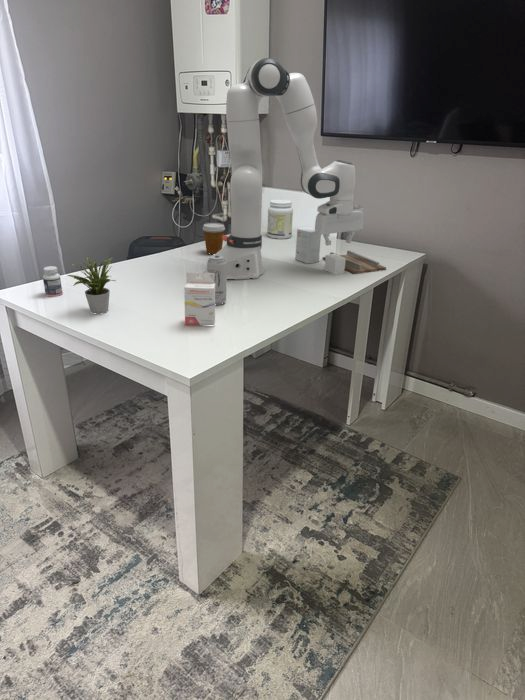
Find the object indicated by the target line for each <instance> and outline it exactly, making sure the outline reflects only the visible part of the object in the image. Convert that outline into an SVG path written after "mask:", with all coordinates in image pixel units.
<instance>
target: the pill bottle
mask: <svg viewBox="0 0 525 700" xmlns="http://www.w3.org/2000/svg"><path fill="white" fill-rule="evenodd" d="M43 273H44V274H43V275H42V281H43V287H44V293H45V296H47V297H49V298H50V297H51V298H53V297H59V296H61V295H63V293H64V291H63V287H62V281H61V275H60V274H59V273H58V267H57V266H53V265H51V266H50V265H49V266H44V267H43Z"/></svg>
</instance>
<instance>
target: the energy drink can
mask: <svg viewBox="0 0 525 700" xmlns="http://www.w3.org/2000/svg"><path fill="white" fill-rule="evenodd" d="M224 258H225V257H224V256H222V255H209V257H208V260H206V268H207V273H214V274H215V277H214V279H215V281H214V282H215V304H222V303H224V302H226V301H227V280H226V260H225V259H224ZM224 304H225V303H224ZM222 305H223V304H222Z"/></svg>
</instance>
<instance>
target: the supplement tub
mask: <svg viewBox="0 0 525 700" xmlns="http://www.w3.org/2000/svg"><path fill="white" fill-rule="evenodd" d="M269 205H270V206H269V207H268V208H267V228H266V229H267V230H266V231H267V232H266V234H267V236H268V237H269V238H271V239H275V238H277V239H276V240H286V239H289V238H291V237H292V235H293V234H292V233H293V217H294V216H293V215H294V209H293V207H292V206H293V205H292V200H288V199H271V200H270V201H269Z"/></svg>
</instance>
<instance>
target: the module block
mask: <svg viewBox="0 0 525 700" xmlns="http://www.w3.org/2000/svg"><path fill="white" fill-rule="evenodd" d="M339 255H340V254H338V255H337V253H336V254H325V257H326V258H325V261H324V270H325V271H326V272H328V273H330V274H332V275H341V274H345V270H344V269H345V260H346V258H344V257H341V256H339Z"/></svg>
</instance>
